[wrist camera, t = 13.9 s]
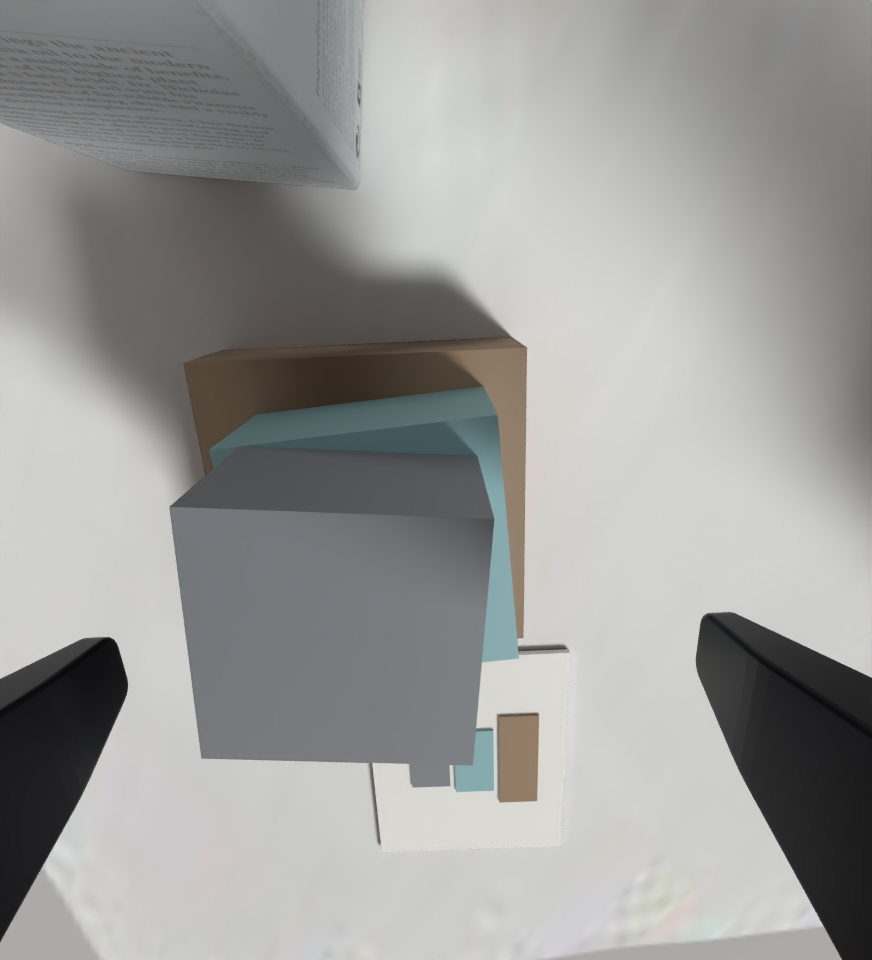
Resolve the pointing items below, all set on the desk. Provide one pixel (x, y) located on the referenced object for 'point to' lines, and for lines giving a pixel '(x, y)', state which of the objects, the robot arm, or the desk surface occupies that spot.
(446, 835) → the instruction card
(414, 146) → the desk surface
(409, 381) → the base block
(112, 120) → the skincare box
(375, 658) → the grey block
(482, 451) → the teal block
